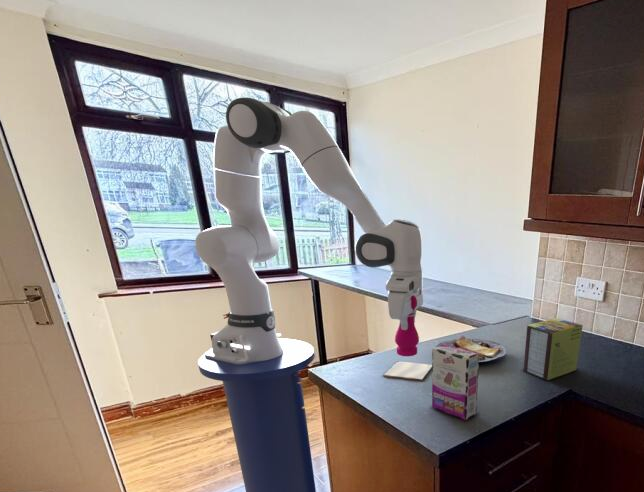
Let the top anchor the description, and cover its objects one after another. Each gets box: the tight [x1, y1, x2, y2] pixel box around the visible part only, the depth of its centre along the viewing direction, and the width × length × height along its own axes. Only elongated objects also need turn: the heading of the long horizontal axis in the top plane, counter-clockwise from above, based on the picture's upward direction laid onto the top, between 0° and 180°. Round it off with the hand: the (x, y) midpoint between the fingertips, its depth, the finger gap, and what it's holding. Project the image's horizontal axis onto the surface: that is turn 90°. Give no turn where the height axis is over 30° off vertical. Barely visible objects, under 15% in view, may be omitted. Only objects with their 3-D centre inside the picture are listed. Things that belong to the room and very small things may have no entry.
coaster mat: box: [383, 360, 432, 381], centre depth 127 cm, size 12×12×1 cm
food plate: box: [435, 335, 507, 363], centre depth 142 cm, size 25×23×4 cm
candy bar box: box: [431, 344, 480, 421], centre depth 101 cm, size 11×5×16 cm, turn 55°
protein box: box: [522, 317, 584, 381], centre depth 130 cm, size 10×15×16 cm
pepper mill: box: [394, 295, 420, 357], centre depth 121 cm, size 7×7×20 cm
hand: (408, 326), depth 121 cm, fingers closed on pepper mill, 4 cm apart
